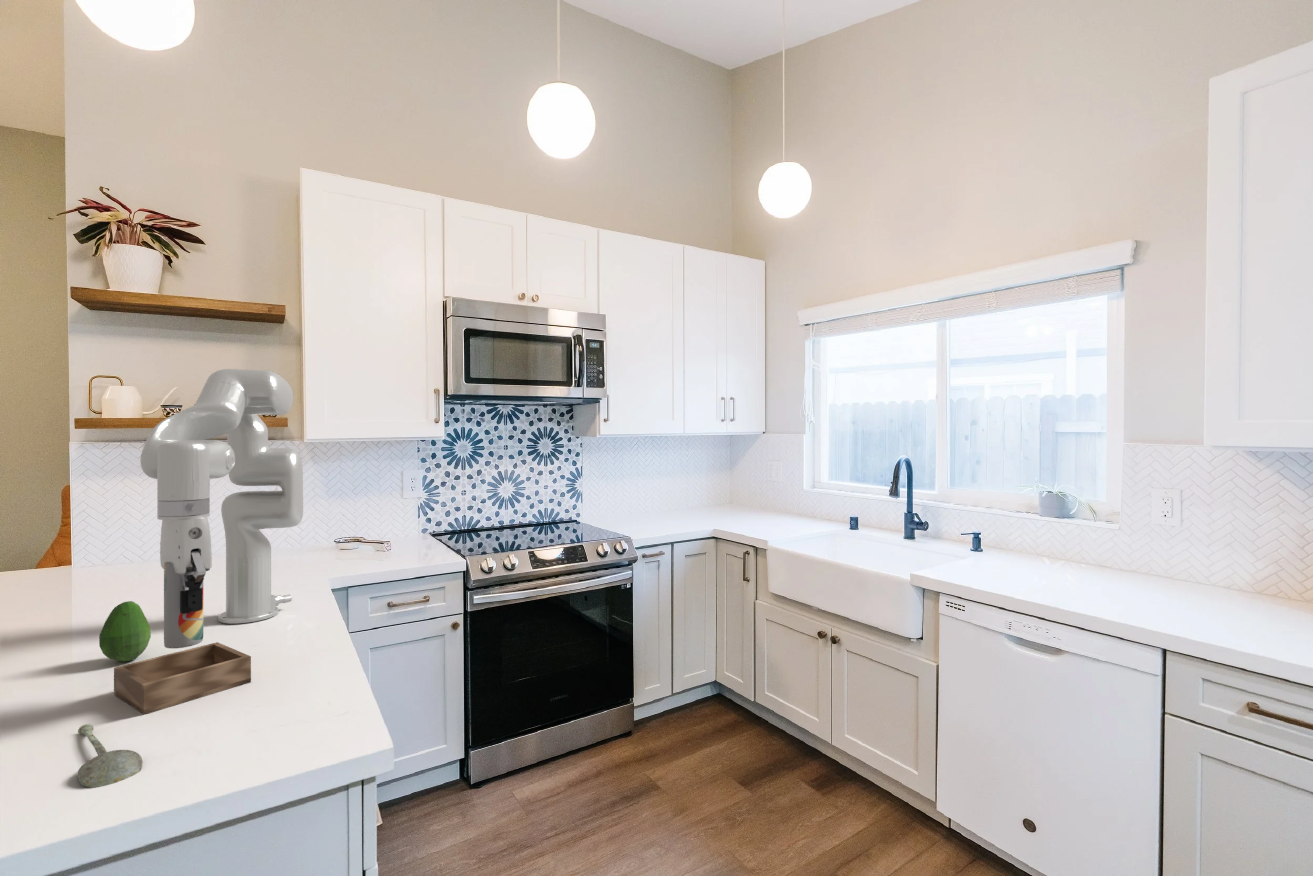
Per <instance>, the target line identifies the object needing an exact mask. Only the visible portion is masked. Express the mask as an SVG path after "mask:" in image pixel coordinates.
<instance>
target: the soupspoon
mask: <svg viewBox="0 0 1313 876" xmlns="http://www.w3.org/2000/svg"><path fill="white" fill-rule="evenodd" d="M93 731H94V725H93V724H91V723H86V724H82V725H81V726H80V727H78V729H77V733H78V734H79V735H83V736H86V737H87V739H88V742H90V744H91V745H92V746H93V748H94V751H95V752H96V754H97V756H95V757H92V758H90V759H89V760H88V761H86V762H84V763H83V764H82V765H81V766H80V767H79V769H78V770H77V774H76V776H77V778H78V779H77V780H78V781H79V783H80V784H81V785H82V786H83V787H86V788H90V789H97V788H102V787H105V786H109V785H113V784H115V783H116V784H117V783H118V782H122V781H124V780H126V779H129V778H131V777H133V776H135V775H136V774H138V773H140V772H141V770H142V768H143V757H142V756H141V754H140V753H139V752H136V751H134V750H130V749H116V750H110V751H107V749H106V748H105V747H104V745H103V744H102V743H101V741H100V740H99V739H98V738H97V737H96V736H95V735H94V733H93Z"/></svg>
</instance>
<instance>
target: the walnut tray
mask: <svg viewBox="0 0 1313 876" xmlns="http://www.w3.org/2000/svg"><path fill="white" fill-rule="evenodd" d="M249 683H252V656H251V655H249V654H247V653H243V652H242V651H239V650H238V649H235V648H233V647H230V646H227V645H225V644H222V643H220V642H218V641H217V642H213V643H209V644H205V645H204V644H203V645H201V646H200V645H199V646H196V647H193V648H188V649H184V650H180V651H176V652H172V653H171V652H170V653H168V654H164V655H159V656H156V657H151V658H148V659H147V658H146V659H144V660H139V661H136V662H132V663H127V664H124V665H119V666H115V667H113V695H114V696H115V697H117V698H118V699H120V700H121V701H123V702H124V703H126V704H127V705H129V706H130V707H131V708H133V709H134V710H137V711H138V712H140V713H141V714H142V715H147V714H150V713H154V712H157V711H161V710H164V709H166V708H167V709H168V708H170V707H174V706H177V705H181V704H184V703H187V702H189V701H193V700H197V699H200V698H203V697H207V696H209V695H213V694H217V693H219V692H222V691H226V690H230V689H233V688H236V687H240V686H242V685H246V684H249Z"/></svg>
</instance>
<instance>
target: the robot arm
mask: <svg viewBox="0 0 1313 876" xmlns="http://www.w3.org/2000/svg"><path fill="white" fill-rule="evenodd" d="M293 393H294V392H293V389H292V387H291V385H290V384H289V382H288V381H287V380H286V379H284V378H283V377H282V376H281V375H279V374H278V373H276V372H274V371H270V370H266V369H240V368H239V369H237V368H226V369H225V368H224V369H219V370H216V371H214V372H212V373H211V374H210V375H209V376H208V378H207V380H206V382H205V383H204V385H203V387H202V389H201V392H200V394H199V396H198V398H197V399H196V402H195V404H194V405H192V406H190V407H188V408H185V409H183V410H181V411H179V412H176V413H174V414H172V415H170V416H169V417H166V418H165V419H163V420H161V421H160V422H159V423H157V424H156V425H155V426H154V428H153V429H152V431H151V432H150V433H149V435H148V437H147V439H146V441H145V443H144V445H143V448H142V451H141V454H140V459H139V460H140V467H141V470H142V472H143V473H144V474H145V475H146V476H147V477H149V478H151V479H154V480H157V481H156V482H157V485H156V486H157V487H156V488H157V489H156V491H157V492H156V493H157V496H156V497H157V501H156V503H157V506H156V507H157V510H156V511H157V513H156V515H157V516H156V517H157V520H159V521H161V528H160V543H159V545H160V546H159V551H160V552H159V555H160V557H159V558H160V560H159V561H160V567H161V568H162V569H163V570H164V563H165V562H170V563H172V564H173V566H174V570H175V573H177V574H180V575H181V581H182V588H183V591H180V612H181V613H182V614H185V613H190V612H195V611H200V610H202V608H203V609H204V580H205V577H206V574H207V572H208V571H210V570H211V569H212V567H213V560H212V559H213V557H212V555H213V554H212V542H211V541H212V539H211V531H210V529H211V528H210V523H209V519H208V517H210V514H211V513H210V498H211V497H210V495H211V494H210V492H211V491H210V486H211V485H210V484H211V483H210V482H211V481H210V480H212V479H214V480H215V479H220V478H224V477H226V476H227V475H228V478H229V481H230V482H231V483H232V484H234V485H236V486H241V487H265V486H268V487H270V486H271V487H272V486H276V487H277V486H278V487H279V488H281V490H253V491H252V490H249V491H247V490H246V491H238V492H234V493H231V494H229V495H227V496H226V497H225V498H224V499H223V501H222V503H221V508H220V511H221V519H222V522H223V528H224V536H225V611H224V612H222V613H220V614H218V617H217V619H218V622H219V623H222V624H229V625H231V624H233V625H234V624H235V625H236V624H247V623H253V622H259V621H263V620H267V619H269V618H272V617H275V616H277V614H278V613H279V607H277V606H279V605H280V604H286V603H291V602H292V601H293V599H292V595H291V594H285V595H281V594H280V595H274V594H272V546H271V542H270V541H269V539H268V538H267V536H265V534H264V533H263V532H262V531H261V530H265V529H284V528H292V527H293V528H294V527H297V526H298V525H299V524H300V523H301V522H302V519H303V516H304V475H303V474H304V472H303V461H302V457H301V455H300V453H299V452H298V451H297V450H296V449H293V448H287V447H283V448H282V447H278V448H277V447H275V448H273V447H269V430H268V426H267V425H266V423H265V422H264V421H263V419H261V417H260V416H262V415H264V416H280V415H281V416H282V415H283V416H284V415H286V414H288V413H289V412H290V411H291V409H292V408H293V405H294V394H293ZM259 415H260V416H259ZM222 435H227V443H226V442H224V441H221V440H218V439H216V440H215V439H213V438H217V437H219V436H222ZM193 533H194V534H193ZM188 569H194V571H193V572H187V570H188ZM186 572H187V573H186ZM188 576H192V577H190V579H189V581H188V578H187V577H188Z"/></svg>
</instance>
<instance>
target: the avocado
mask: <svg viewBox="0 0 1313 876" xmlns="http://www.w3.org/2000/svg"><path fill="white" fill-rule="evenodd" d="M151 633H152V632H151V626H150V623H149V621H148V619H147V617H146V615H145V613H144V612H143V609H142V608H141V606H140V605H139V604H138V603H136V602H135V601H134V600H133V601H132V600H130V601H129V600H128V601H123V602H121V603H119V604H117V605H116V606H115V607H114V608H113V609H112V610H111V612H109V614H108V616H107V618H106V619H105V622H104V623H103V626H102V629H101V631H100V632H99V637H98V638H99V639H98V642H99V648H100V650H101V653H102V654H103V655H104V656H105V657H106V658H109V659H110V660H112V661H117V662H130V661H132V660H133V661H134V660H136V659H137V658H139V656H141V655H142V654H143V652H145V650H146V648H148V646H149V642H150V640H151V637H152V636H151V635H152V634H151Z"/></svg>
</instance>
